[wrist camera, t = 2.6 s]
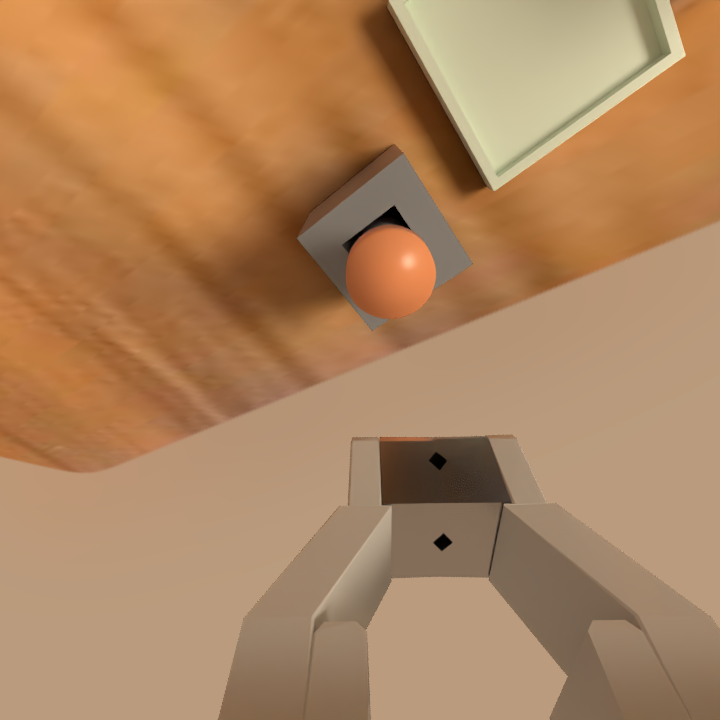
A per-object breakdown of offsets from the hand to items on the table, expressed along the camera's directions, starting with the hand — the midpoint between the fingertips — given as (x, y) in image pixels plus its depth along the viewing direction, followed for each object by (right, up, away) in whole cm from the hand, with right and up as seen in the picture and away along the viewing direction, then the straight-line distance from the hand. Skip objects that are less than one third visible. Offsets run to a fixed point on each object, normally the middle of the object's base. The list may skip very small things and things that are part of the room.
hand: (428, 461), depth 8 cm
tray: (+7, +18, +13) cm, 23 cm away
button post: (0, +10, +17) cm, 20 cm away
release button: (0, +8, +14) cm, 16 cm away
